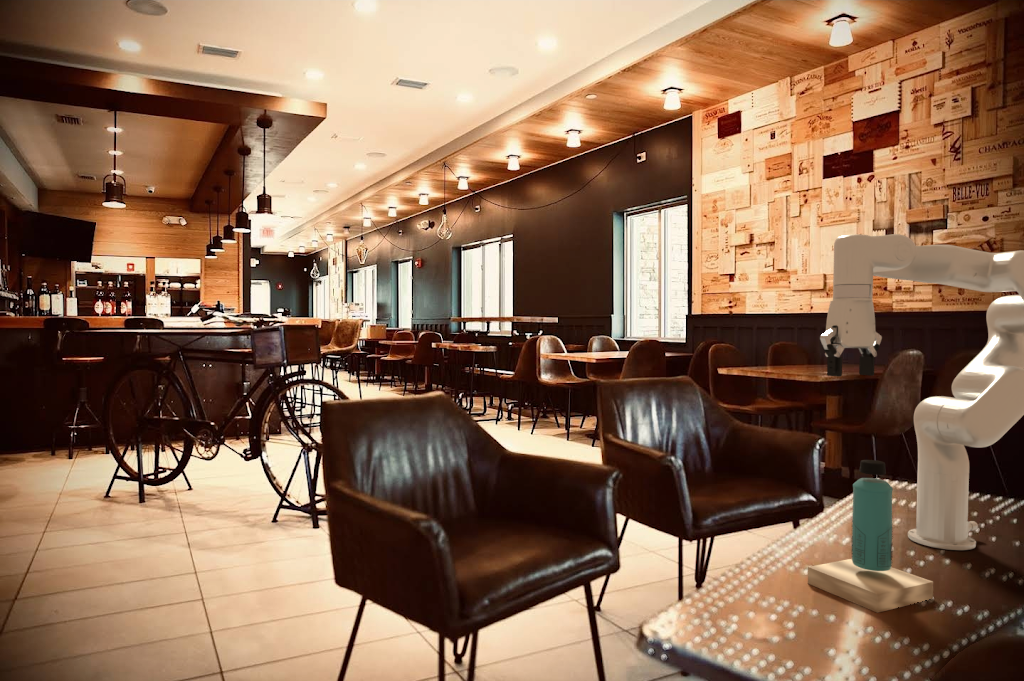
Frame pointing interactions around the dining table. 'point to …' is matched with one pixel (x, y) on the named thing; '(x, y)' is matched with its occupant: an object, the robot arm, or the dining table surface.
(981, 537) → the dining table surface
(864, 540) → the beverage bottle
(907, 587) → the birch plinth
